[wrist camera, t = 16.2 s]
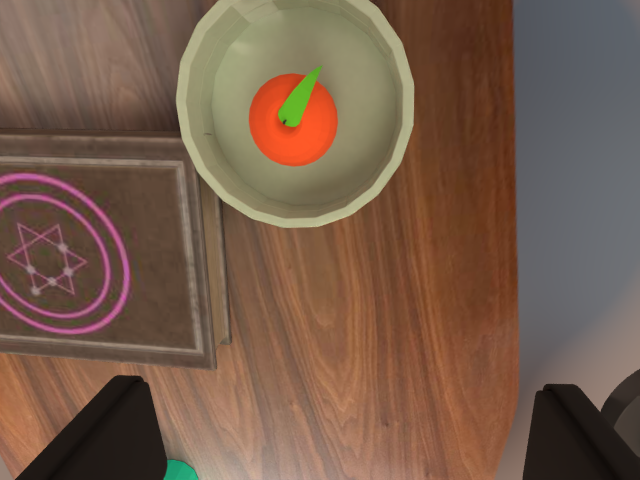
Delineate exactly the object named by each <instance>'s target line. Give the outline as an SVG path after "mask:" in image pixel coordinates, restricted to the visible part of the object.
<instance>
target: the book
mask: <svg viewBox="0 0 640 480" xmlns="http://www.w3.org/2000/svg"><path fill="white" fill-rule="evenodd" d="M205 134H207V135H212V134H209V133H205ZM231 343H232V340H231V326H230V313H229V299H228V286H227V273H226V259H225V246H224V232H223V219H222V205H221V198H220V197H219V196H218V195H217V194H216V193H215V191H214V190H213V189H212V188H211V187H210V186H209V185H208V183H207V182H206V181H205V180H204V179H203V178H202V177H201V175H200V174H199V173H198V172H197V170H196V167H195V165H194V163H193V161H192V159H191V157H190V155H189V153H188V151H187V148H186V146H185V144H184V142H183V140H182V136H181V131H142V130H86V129H30V128H0V353H8V354H20V355H32V356H44V357H56V358H67V359H79V360H91V361H103V362H115V363H127V364H139V365H151V366H163V367H175V368H187V369H199V370H211V371H215V370H216V369H217V361H216V349H217V347H218V345H219V344H224V345H230V344H231Z"/></svg>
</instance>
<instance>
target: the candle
mask: <svg viewBox="0 0 640 480" xmlns="http://www.w3.org/2000/svg"><path fill="white" fill-rule="evenodd" d="M167 463H168V464H167V472H166V475H165V477H164V479H163V480H198V477H197V475H196V473H195V471H194V469H192V468H191V467H190V466H188V465H187V464H186V463H184V462H180V461H177V460H173V459H172V460H167Z"/></svg>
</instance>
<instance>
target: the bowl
mask: <svg viewBox="0 0 640 480" xmlns="http://www.w3.org/2000/svg"><path fill="white" fill-rule="evenodd" d="M197 24H198V25H196V27H195V30H194V32H193V34H192V36H191V39H190V41H189V43H188V45H187V48H186V50H185V52H184V54H183V57H182V59H181V61H180V68H179V76H178V85H177V93H176V106H177V112H178V118H179V124H180V130H181V136H182V140H183V142H184V144H185V146H186V148H187V151H188V153H189V155H190V157H191V159H192V161H193V163H194V165H195V167H196V170H197V172H198V173H199V174H200V175H201V177H202V178H203V179H204V180H205V181H206V182H207V183H208V185H209V186H210V187H211V188H212V189H213V190H214V191H215V193H216V194H217V195H218V196H219V197H220V198H221V199H222V200H223V201H224V202H226V203H227V204H229V205H231V206H232V207H234V208H235V209H237V210H238V211H240V212H242V213H243V214H245V215H246V216H248V217H249V218H251V219H254V220H258V221H261V222H265V223H268V224H272V225H275V226H279V227H283V228H295V227H317V226H318V227H319V226H322V225H325V224H328V223H330V222H333V221H336V220H339V219H342V218H345V217H348V216H350V215H352V214H353V213H354V212H356V211H357V210H358V209H360V208H361V207H362V206H364V205H365V204H366V203H368V202H369V201H370V200H372V199H373V198H374V197H376V196H377V195H378V194H379V193H380V192H381V190H382V189H383V188H384V186H385V185H386V183H387V182H388V181H389V179H390V178H391V176H392V175H393V174H394V172H395V171H396V169H397V168H398V167H399V165H400V163H401V162H402V159H403V156H404V153H405V150H406V147H407V144H408V141H409V138H410V135H411V132H412V129H413V122H414V81H413V78H412V74H411V71H410V67H409V64H408V61H407V57H406V54H405V50H404V47H403V44H402V41H401V40H400V39H399V37H398V36H397V34H396V33H395V31H394V30H393V28H392V27H391V25H390V24H389V23H388V21H387V20H386V18H385V17H384V15H383V14H382V12H381V11H380V9H379V8H377V6H376V5H374V4H373V3H372V2H370V1H369V0H218V1H217V2H216V4H215V5H214V6H213V7H212V8H211V9H210V10H209V11H208V12H207V13H206V14H205V16H204V17H203V18H202V19H201V20H200V21H199V22H198V23H197ZM322 65H323V66H322ZM320 66H322V68H321V70H320V72H319V75H318V77H317V81H318V82H319V83H320V84H321V85H323V86H324V87H325V88H326V89H327V91H328V92H329V94H330V95H331V97H332V98H333V101H334V104H335V106H336V109H337V117H338V126H337V132H336V136H335V138H334V141H333V143H332V145H331V147H330V148H329V149H328V150H327V152H326V153H325V154H324V155H323V156H322V157H320V158H319V159H318V160H316V161H315V162H312V163H310V164H307V165H305V166H295V167H293V166H286V165H281V164H279V163H276V162H274V161H272V160H270V159H269V158H268V157H267V156H265V155H264V154H263V153H262V152H261V151H260V149H259V148H258V147H257V145H256V144H255V142H254V140H253V137H252V135H251V132H250V126H249V110H250V106H251V103H252V100H253V97H254V96H255V94H256V93H257V91H258V90H259V88H260V87H261V86H263V85H264V84H265V83H266V82H267V81H268V80H270V79H272V78H274V77H276V76H279V75H283V74H290V73H295V74H302V75H306V76H307V75H308V74H309V73H310V72H312V71H313V70H314V69H316V68H317V67H320ZM205 133H209V134H212V135H207V134H205Z"/></svg>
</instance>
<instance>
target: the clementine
mask: <svg viewBox="0 0 640 480" xmlns="http://www.w3.org/2000/svg"><path fill="white" fill-rule="evenodd" d="M322 66H323V65H322ZM322 66H320V67H317V68H316V69H314V70H313V71H312V72H310V73H309V74H308V75H307V76H306V75H302V74H295V73H290V74H283V75H279V76H276V77H274V78H272V79H270V80H268V81H267V82H266V83H265V84H264V85H263V86H261V87H260V88H259V90H258V91H257V93H256V94H255V96H254V97H253V100H252V103H251V106H250V110H249V126H250V132H251V135H252V137H253V140H254V142H255V144H256V145H257V147H258V148H259V149H260V151H261V152H262V153H263V154H264V155H265V156H267V157H268V158H269V159H270V160H272V161H274V162H276V163H279V164H281V165H286V166H293V167H295V166H305V165H307V164H310V163H312V162H315V161H316V160H318V159H319V158H320V157H322V156H323V155H324V154H325V153H326V152H327V150H328V149H329V148H330V147H331V145H332V143H333V141H334V138H335V136H336V132H337V126H338V117H337V109H336V106H335V104H334V101H333V98H332V97H331V95H330V94H329V92H328V91H327V89H326V88H325V87H324V86H323V85H321V84H320V83H319V82H318V81H317V77H318V75H319V72H320V70H321V68H322Z"/></svg>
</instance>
